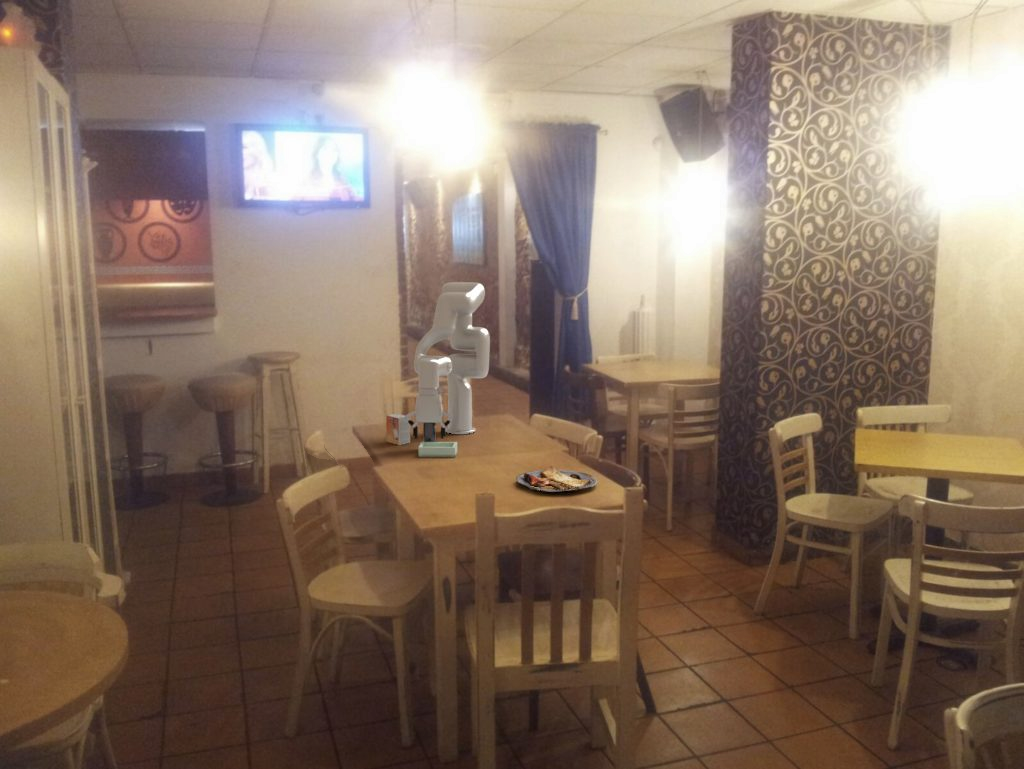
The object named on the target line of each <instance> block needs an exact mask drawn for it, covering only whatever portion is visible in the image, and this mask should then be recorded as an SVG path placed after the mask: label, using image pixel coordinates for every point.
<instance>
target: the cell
mask: <svg viewBox="0 0 1024 769" xmlns="http://www.w3.org/2000/svg"><path fill="white" fill-rule="evenodd" d="M422 424H423V425H422V426H423V428H422V430H423V431H422V432H423V434H422V435H423V439H422V440H423V441H422V442H437V439H436V436H437V435H436V433H437V432H436V430H437V428H436V426H437V423H422Z"/></svg>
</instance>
